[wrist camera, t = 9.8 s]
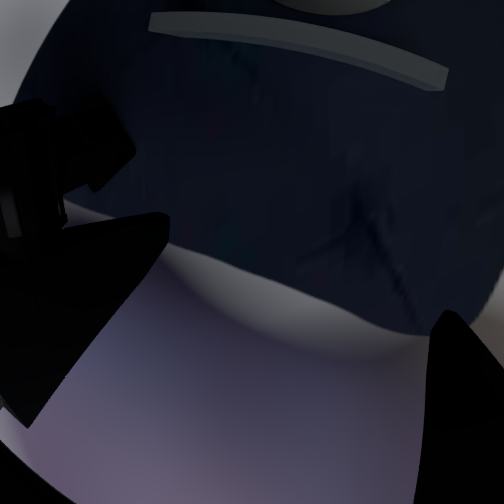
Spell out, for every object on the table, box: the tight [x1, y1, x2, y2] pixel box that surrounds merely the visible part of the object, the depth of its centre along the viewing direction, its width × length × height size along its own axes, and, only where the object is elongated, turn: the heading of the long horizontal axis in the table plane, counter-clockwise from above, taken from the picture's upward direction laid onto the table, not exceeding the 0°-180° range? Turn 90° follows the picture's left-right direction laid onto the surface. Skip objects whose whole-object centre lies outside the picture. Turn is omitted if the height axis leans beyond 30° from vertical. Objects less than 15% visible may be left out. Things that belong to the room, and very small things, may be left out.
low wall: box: [148, 12, 449, 91], centre depth 14 cm, size 16×1×4 cm, turn 77°
